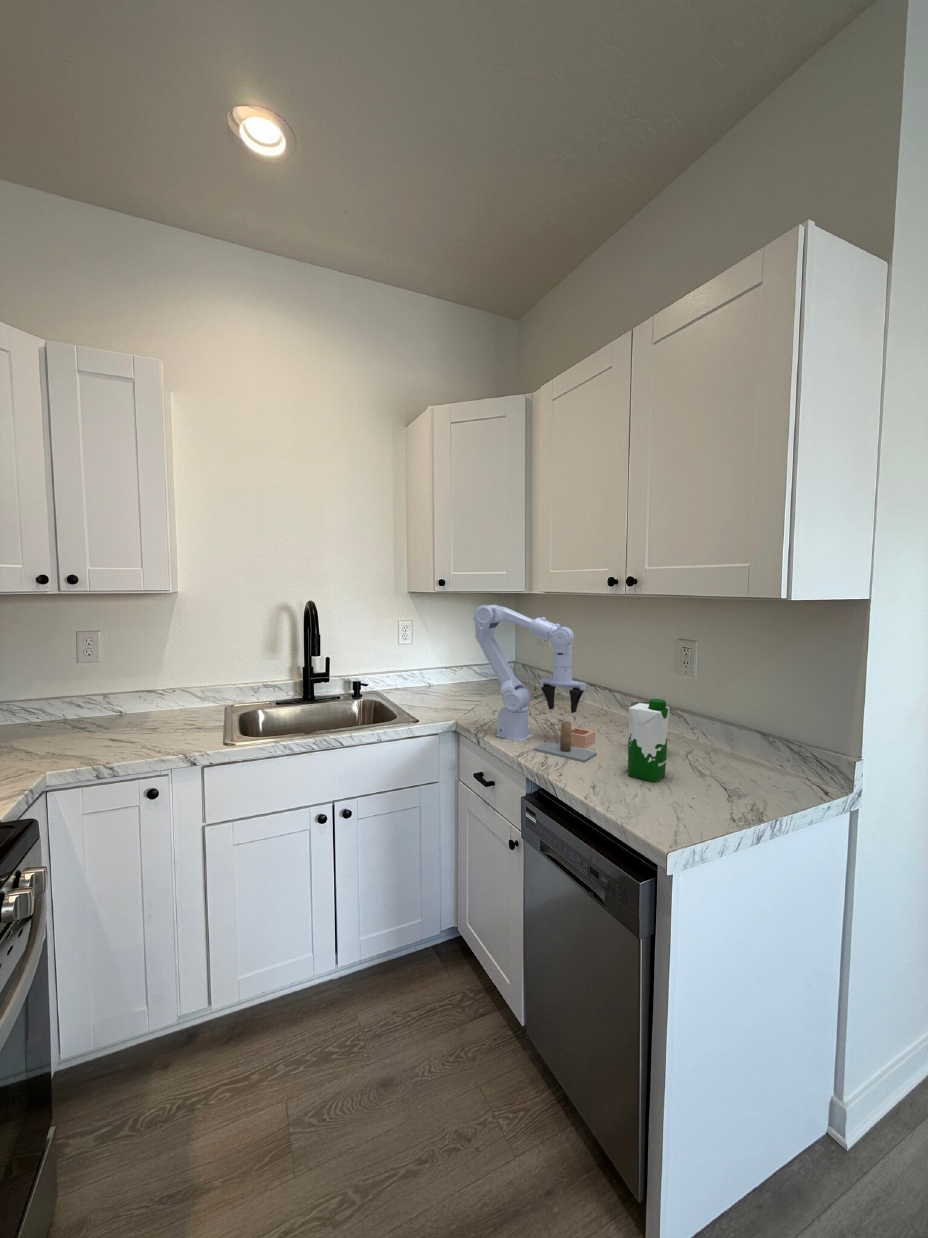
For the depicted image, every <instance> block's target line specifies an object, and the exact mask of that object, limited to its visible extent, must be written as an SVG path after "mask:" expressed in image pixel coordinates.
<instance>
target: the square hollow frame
mask: <svg viewBox="0 0 928 1238" xmlns="http://www.w3.org/2000/svg"><path fill="white" fill-rule="evenodd" d="M594 743H596V731H595V730H591V729H585V728H580V727H576V726H574V727H571V746H574V747H578V748H582V749H586V748H588V747H590V746H591V745H593V744H594Z"/></svg>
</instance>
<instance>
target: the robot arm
mask: <svg viewBox="0 0 928 1238" xmlns="http://www.w3.org/2000/svg"><path fill="white" fill-rule="evenodd" d="M472 620H473V621H474V628H475V629H474V630H475V639H476V641H477V642H478V645H479V646H480V648H481V650H482V652H483V654H484V656H485V658H486V660H487V661H488V664H489V665H490V667H491V669H492V671H493V672H494V675H495V676H496V679H497V680H498V682H499V684H500V694H501V696H502V704H503V705H504V706H503V707H502V708H500V709H499V711H498V714H497V725H496V726H497V731H496V732H497V733H496V734H495V736H496V737H498V738H503V739H510V740H515V741H517V742H518V741H519V742H521V741H524V740H526V739H528V738H530V737H533V736H534V734H531V733H529V707H528V704H529V703H530V702H531V699H532V694H531V692H530V690H529V689H528V688H527V687H525V686H524V684H523V683H522V681H521V680H519V679H518V678H517V677H516V675H515V674H514V672H513V670H512V668H511V666H510V665H509V662H508V660H507V659H506V657H505V655H504V653H503V652H502V650H501V647H500V646H499V644H498V643H497V640H496V638H495V636H494V633H495V631H496V628H497V627H498V625H499V624H500V623H501V622H506V621H507V622H509V623H512V624H515V625H518V626H519V627H522V628H525V629H527V630H529V632H530V635H533V636H535V637H537V638H540V639H541V640H544V641H547V642H549V643H551V644H552V646H553V650H552V660H553V661H552V678H546V677H543V678H540V680H539V683H540V684H539V685H540V686H541V692H542V693H543V695H544V697H545V700H546V703H547V707H548V710H554V709H555V693H556V688H557V687H558V688H566V689H569V691H568V692H569V699H570V712H571V713H572V714H575V713H576V712H577V709H578V705H579V702H580V699H581V697H582V695H583V694H584V692H585V690H586V688H587V685H586V684H587V683H586V682H581V681H576V680H573V649H572V648H573V647H572V646H573V645H572V643H573V641H574V640H575V634H574V631H573V630H572V629H571V628H569V627H568V626H561V624H559V623H553V622H550V621H548V620H547V618H546V617H543V616H542V617H536V618H534V619H533V618H530V617H528V616H526V615H524V614H521V613H519V612H517V611H515V610H513V609H510V608H508V607H505V606H500V605H498V604H495V603H494V604H491V605H490V604H489V605H487V604H484V605H483V604H482V605H480V606H478V607H477V608H476V610H475V612H474V614H473V618H472Z"/></svg>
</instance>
